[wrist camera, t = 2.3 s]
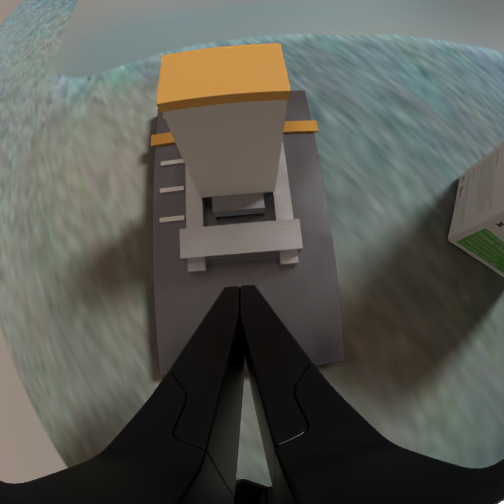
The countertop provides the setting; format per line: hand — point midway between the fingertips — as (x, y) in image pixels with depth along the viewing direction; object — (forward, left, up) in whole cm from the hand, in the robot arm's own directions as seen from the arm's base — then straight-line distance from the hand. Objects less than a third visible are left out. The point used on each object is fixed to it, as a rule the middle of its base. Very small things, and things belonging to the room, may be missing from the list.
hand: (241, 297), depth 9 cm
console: (+5, +3, -11) cm, 12 cm away
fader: (+7, +4, -9) cm, 12 cm away
